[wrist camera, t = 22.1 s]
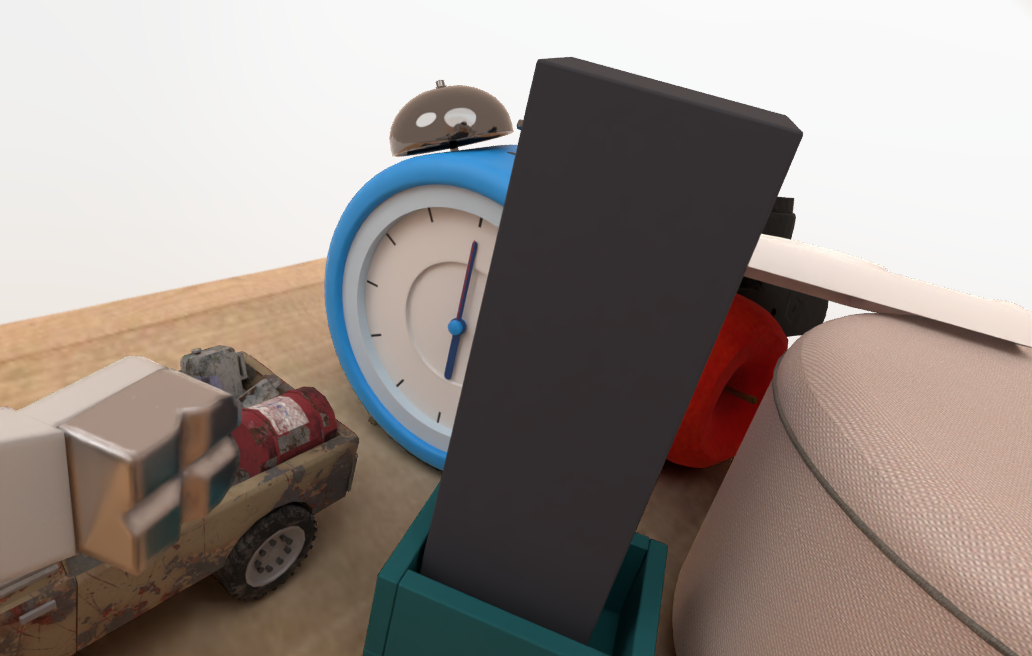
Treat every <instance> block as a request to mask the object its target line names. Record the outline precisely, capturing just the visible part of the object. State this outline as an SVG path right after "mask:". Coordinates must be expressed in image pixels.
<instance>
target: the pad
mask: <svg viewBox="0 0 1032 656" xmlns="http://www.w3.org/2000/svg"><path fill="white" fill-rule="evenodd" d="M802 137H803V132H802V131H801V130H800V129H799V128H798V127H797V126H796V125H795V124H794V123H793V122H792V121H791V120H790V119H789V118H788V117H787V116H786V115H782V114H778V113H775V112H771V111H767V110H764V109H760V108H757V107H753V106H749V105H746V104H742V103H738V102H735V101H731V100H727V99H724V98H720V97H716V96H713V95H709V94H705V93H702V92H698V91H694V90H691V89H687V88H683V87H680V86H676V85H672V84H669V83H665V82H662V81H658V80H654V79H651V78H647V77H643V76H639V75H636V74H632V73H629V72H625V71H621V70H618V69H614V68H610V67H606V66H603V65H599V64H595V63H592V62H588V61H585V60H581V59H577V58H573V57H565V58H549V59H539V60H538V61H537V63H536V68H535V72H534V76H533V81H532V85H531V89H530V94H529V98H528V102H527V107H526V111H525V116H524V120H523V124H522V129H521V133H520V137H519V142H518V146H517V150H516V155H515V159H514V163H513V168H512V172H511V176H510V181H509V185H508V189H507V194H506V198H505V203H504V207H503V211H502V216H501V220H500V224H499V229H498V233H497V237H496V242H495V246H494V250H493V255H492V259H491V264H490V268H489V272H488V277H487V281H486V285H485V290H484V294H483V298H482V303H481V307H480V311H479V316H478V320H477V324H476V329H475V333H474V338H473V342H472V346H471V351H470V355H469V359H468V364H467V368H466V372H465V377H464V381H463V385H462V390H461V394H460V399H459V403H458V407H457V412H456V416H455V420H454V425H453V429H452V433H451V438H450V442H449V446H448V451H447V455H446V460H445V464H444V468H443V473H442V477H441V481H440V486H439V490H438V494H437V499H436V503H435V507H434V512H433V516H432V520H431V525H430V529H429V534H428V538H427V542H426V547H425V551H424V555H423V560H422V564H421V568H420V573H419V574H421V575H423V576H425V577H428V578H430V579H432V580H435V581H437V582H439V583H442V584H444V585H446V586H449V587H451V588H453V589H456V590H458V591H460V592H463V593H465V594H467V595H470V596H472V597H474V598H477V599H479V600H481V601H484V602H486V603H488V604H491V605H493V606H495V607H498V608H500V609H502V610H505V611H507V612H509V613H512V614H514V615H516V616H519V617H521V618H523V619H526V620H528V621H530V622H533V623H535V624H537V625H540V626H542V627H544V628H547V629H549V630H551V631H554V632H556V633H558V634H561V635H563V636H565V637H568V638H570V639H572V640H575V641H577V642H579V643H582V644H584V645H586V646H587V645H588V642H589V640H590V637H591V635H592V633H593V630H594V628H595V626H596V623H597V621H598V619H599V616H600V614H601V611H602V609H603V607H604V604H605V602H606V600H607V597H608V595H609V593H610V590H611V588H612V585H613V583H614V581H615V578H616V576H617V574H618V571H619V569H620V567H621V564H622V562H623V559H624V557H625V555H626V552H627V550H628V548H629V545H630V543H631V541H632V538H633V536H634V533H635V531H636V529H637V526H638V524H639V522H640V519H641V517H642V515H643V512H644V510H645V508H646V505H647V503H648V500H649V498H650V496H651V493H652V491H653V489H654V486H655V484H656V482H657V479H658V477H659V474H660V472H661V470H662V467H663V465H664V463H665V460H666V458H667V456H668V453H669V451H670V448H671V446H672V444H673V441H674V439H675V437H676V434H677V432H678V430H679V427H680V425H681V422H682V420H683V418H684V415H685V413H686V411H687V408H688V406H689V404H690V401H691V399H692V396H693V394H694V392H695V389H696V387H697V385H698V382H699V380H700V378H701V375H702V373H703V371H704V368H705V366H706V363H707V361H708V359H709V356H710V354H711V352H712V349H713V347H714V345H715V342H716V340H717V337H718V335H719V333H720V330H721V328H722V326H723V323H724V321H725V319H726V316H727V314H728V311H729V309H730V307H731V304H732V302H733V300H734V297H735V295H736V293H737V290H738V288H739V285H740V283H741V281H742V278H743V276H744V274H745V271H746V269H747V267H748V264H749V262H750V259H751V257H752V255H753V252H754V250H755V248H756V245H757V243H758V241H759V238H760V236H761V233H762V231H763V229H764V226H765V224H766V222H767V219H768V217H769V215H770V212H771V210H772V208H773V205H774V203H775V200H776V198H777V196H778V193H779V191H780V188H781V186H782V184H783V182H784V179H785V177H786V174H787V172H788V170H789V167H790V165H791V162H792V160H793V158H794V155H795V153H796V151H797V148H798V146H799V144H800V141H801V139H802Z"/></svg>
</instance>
